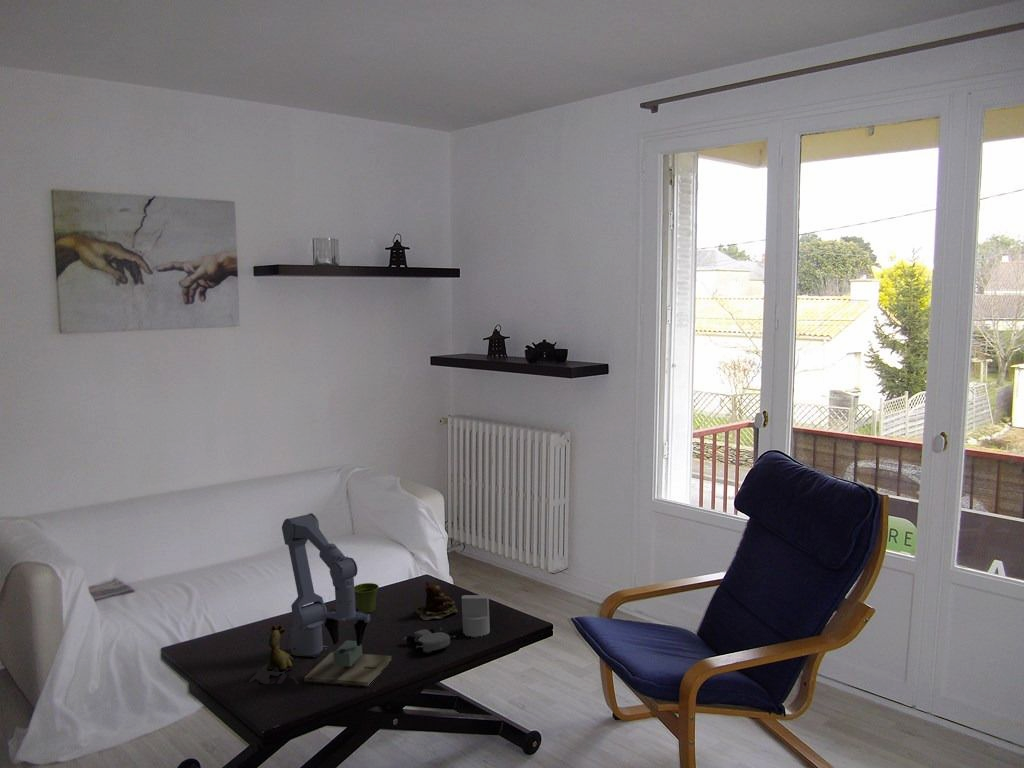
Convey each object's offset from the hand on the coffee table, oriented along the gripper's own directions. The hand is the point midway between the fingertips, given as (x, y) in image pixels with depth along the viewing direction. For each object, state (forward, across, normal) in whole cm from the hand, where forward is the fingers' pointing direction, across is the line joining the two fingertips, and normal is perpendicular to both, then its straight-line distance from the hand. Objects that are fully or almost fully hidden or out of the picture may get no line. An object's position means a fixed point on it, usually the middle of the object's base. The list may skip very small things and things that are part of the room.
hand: (347, 643), depth 244 cm
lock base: (+8, 0, 0) cm, 8 cm away
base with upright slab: (+9, +30, +35) cm, 47 cm away
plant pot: (+9, -15, +48) cm, 51 cm away
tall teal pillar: (+5, 0, 0) cm, 5 cm away
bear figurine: (+9, +12, +50) cm, 52 cm away
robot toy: (+9, +18, +21) cm, 29 cm away
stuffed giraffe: (+9, -20, -3) cm, 22 cm away
